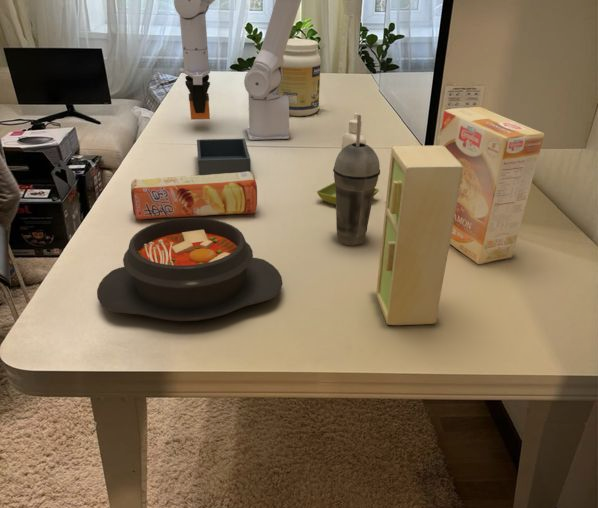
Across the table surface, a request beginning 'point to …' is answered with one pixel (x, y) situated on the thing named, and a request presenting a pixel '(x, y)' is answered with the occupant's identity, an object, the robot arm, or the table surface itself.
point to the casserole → (188, 272)
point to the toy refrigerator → (417, 232)
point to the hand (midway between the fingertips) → (199, 110)
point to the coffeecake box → (489, 179)
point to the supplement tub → (301, 76)
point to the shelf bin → (222, 156)
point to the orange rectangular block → (199, 115)
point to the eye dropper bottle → (352, 133)
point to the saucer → (332, 193)
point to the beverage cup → (355, 189)
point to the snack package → (194, 195)
